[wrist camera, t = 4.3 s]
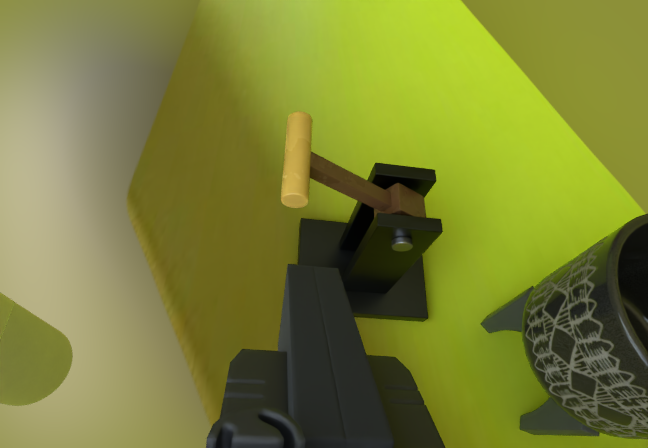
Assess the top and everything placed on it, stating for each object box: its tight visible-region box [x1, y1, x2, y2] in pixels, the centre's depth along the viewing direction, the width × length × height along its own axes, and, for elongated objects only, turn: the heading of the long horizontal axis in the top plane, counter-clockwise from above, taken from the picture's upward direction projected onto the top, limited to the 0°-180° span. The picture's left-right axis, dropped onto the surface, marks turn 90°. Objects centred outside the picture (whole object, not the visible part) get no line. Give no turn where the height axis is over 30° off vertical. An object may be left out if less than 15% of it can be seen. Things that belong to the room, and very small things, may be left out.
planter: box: [481, 214, 648, 439], centre depth 31 cm, size 13×13×18 cm
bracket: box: [297, 163, 443, 322], centre depth 35 cm, size 12×9×14 cm
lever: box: [281, 111, 426, 218], centre depth 28 cm, size 11×6×2 cm, turn 91°
